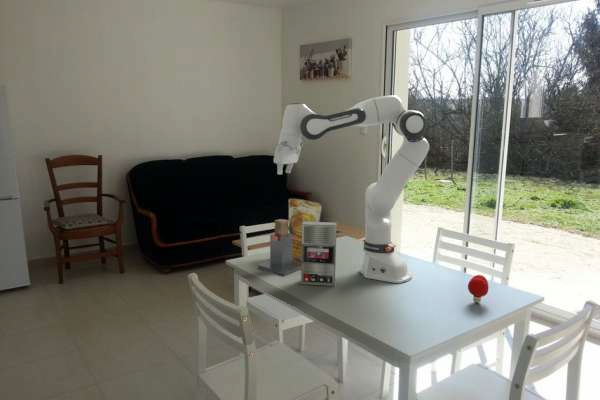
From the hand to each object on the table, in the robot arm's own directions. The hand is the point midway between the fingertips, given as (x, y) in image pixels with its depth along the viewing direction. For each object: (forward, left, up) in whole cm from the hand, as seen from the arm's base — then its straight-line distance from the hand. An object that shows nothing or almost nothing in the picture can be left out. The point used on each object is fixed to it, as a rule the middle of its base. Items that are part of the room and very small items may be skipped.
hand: (283, 173), depth 196 cm
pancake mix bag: (+5, -20, -43) cm, 48 cm away
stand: (+3, -2, -43) cm, 43 cm away
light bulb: (-78, -18, -43) cm, 91 cm away
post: (+3, -2, -41) cm, 41 cm away
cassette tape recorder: (-21, +3, -43) cm, 48 cm away
